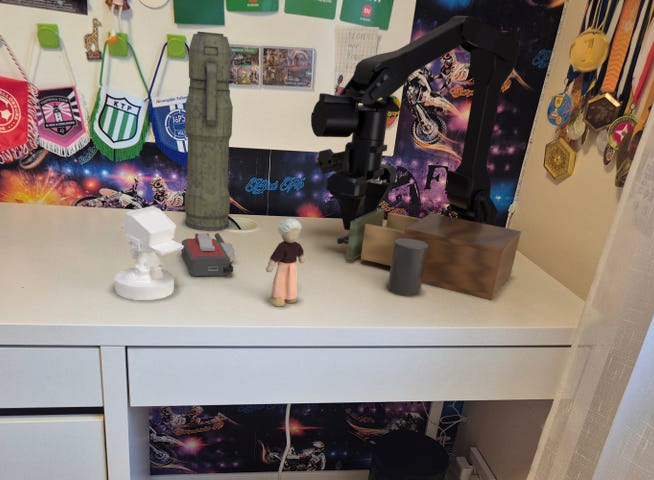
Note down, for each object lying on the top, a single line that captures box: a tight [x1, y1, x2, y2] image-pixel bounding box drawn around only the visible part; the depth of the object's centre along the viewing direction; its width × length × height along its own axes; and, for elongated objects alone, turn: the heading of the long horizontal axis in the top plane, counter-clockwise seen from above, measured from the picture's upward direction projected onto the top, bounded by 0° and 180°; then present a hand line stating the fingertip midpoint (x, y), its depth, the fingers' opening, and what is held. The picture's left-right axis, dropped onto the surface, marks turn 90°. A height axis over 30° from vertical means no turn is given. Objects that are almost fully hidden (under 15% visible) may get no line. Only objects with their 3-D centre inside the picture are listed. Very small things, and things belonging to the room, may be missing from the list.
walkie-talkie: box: [180, 232, 235, 277], centre depth 110 cm, size 9×4×20 cm
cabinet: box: [404, 212, 522, 301], centre depth 112 cm, size 17×15×9 cm
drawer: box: [336, 207, 422, 267], centre depth 117 cm, size 19×13×7 cm
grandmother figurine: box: [265, 217, 306, 307], centre depth 94 cm, size 8×4×13 cm, turn 148°
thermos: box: [184, 31, 234, 231], centre depth 123 cm, size 9×12×35 cm
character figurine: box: [114, 205, 184, 301], centre depth 93 cm, size 9×10×12 cm
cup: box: [387, 239, 428, 297], centre depth 104 cm, size 5×5×8 cm
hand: (357, 225), depth 119 cm, fingers open, 9 cm apart
